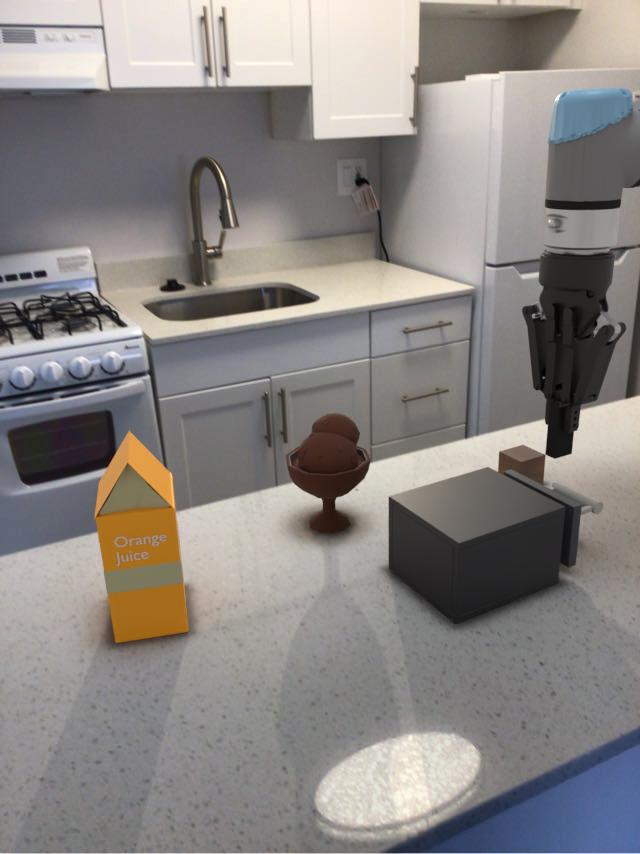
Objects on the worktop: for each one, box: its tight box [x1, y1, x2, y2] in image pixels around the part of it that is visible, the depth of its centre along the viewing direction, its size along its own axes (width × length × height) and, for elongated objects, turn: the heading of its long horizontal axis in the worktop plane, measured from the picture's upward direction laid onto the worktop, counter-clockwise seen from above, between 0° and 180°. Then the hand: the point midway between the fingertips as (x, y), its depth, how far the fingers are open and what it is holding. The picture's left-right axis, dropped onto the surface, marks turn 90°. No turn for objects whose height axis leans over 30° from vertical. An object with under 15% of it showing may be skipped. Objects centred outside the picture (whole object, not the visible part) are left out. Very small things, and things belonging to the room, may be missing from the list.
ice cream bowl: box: [284, 412, 372, 534], centre depth 98 cm, size 11×11×15 cm
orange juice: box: [93, 429, 190, 644], centre depth 79 cm, size 8×9×20 cm
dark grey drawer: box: [504, 469, 604, 569], centre depth 89 cm, size 20×11×8 cm, turn 119°
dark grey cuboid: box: [388, 466, 565, 624], centre depth 86 cm, size 15×13×10 cm
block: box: [497, 444, 547, 485], centre depth 109 cm, size 5×5×5 cm
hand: (558, 454), depth 88 cm, fingers closed
